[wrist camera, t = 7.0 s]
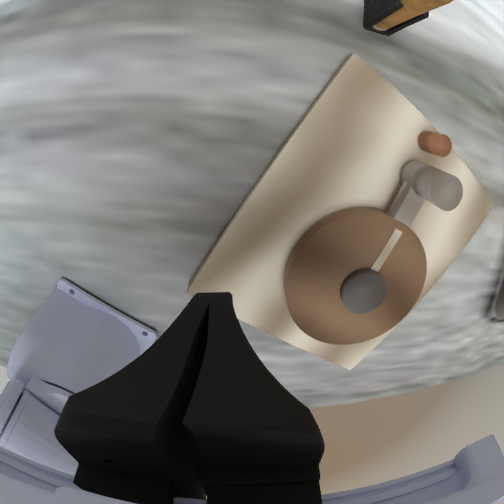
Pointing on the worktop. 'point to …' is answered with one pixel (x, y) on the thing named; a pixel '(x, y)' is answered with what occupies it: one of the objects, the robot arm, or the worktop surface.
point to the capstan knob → (365, 262)
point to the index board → (337, 200)
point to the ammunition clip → (396, 13)
